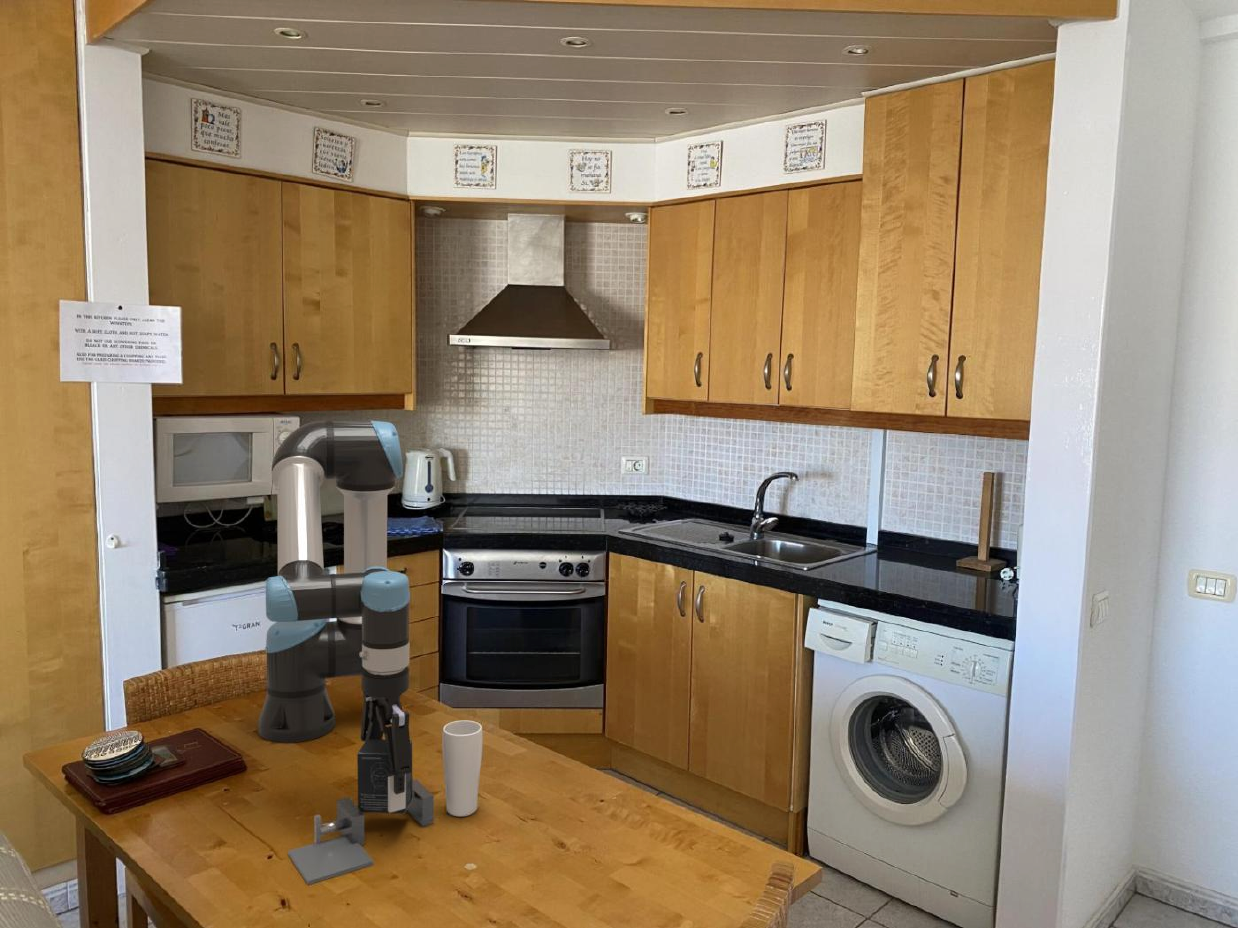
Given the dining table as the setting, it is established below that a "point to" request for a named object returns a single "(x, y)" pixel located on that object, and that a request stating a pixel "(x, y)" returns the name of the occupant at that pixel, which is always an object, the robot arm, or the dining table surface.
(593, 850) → the dining table surface
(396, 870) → the dining table surface
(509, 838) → the dining table surface
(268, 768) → the dining table surface
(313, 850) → the mat
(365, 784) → the box
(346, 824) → the vise
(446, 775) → the drinking glass
